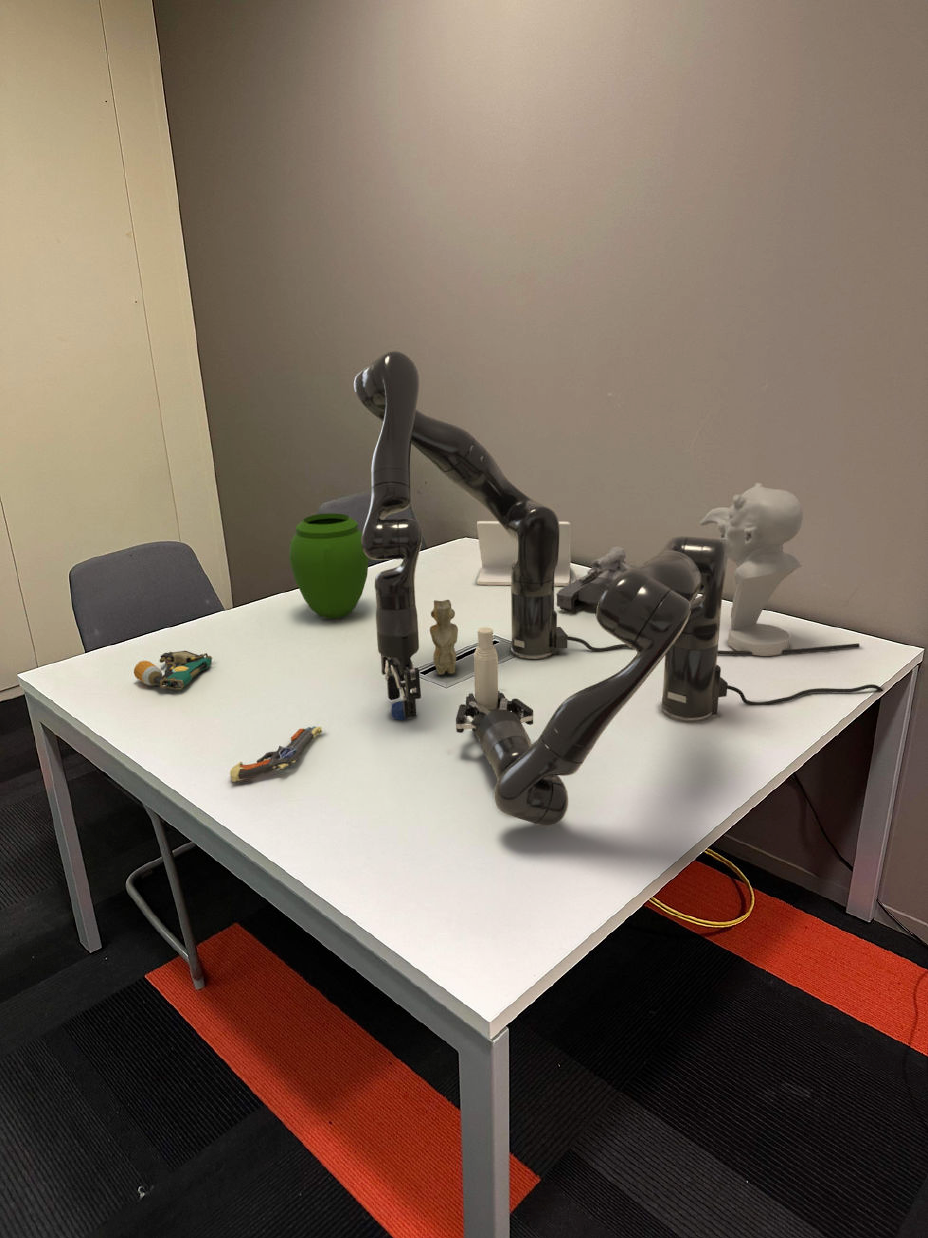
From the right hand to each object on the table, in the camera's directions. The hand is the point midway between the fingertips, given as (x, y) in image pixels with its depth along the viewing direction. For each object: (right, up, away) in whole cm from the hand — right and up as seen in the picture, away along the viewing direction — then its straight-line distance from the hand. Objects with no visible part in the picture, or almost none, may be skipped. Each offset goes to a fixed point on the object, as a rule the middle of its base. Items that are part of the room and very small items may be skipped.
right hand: (483, 696), depth 153 cm
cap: (-15, -2, +7) cm, 17 cm away
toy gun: (-35, -10, -6) cm, 37 cm away
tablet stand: (+14, +26, +86) cm, 91 cm away
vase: (-36, +15, +60) cm, 72 cm away
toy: (+35, +17, +61) cm, 72 cm away
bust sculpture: (+58, +9, +36) cm, 69 cm away
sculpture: (-7, +3, +26) cm, 27 cm away
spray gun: (-64, +2, +27) cm, 70 cm away
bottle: (+1, -7, 0) cm, 7 cm away
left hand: (-15, -3, +7) cm, 17 cm away
